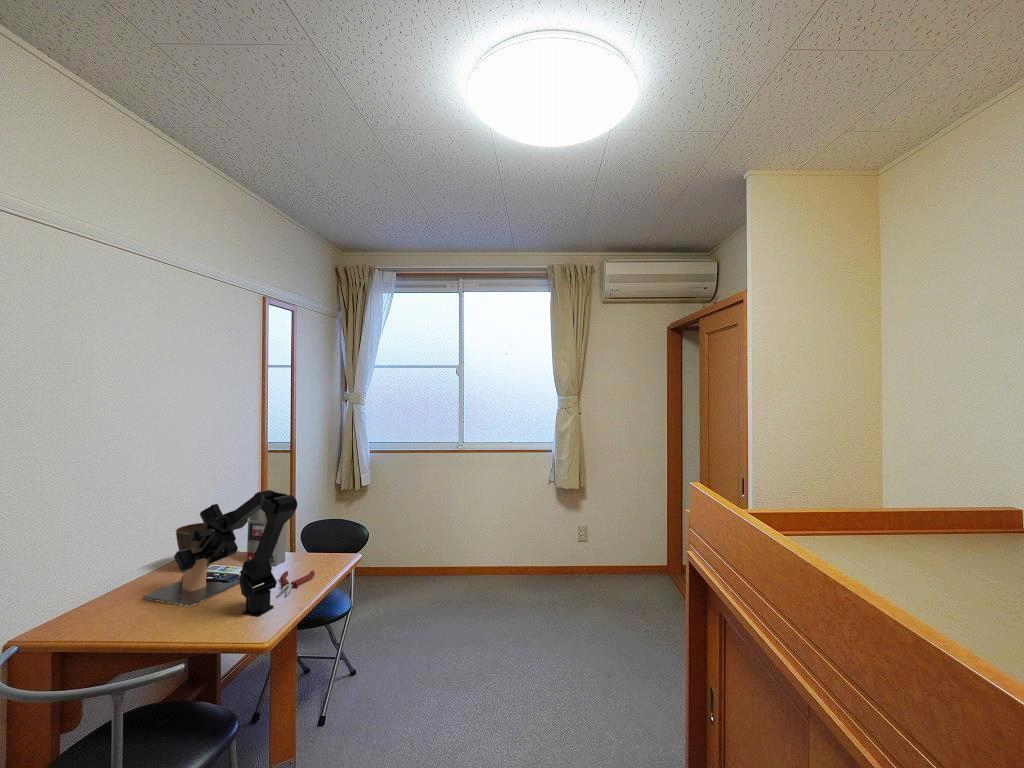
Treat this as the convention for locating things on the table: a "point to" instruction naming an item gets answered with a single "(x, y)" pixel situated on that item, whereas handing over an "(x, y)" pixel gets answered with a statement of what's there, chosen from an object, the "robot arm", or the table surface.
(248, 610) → the robot arm
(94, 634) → the table surface
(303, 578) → the pliers
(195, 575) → the sleeve
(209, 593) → the plate
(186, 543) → the plant pot
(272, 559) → the grey electrical device
